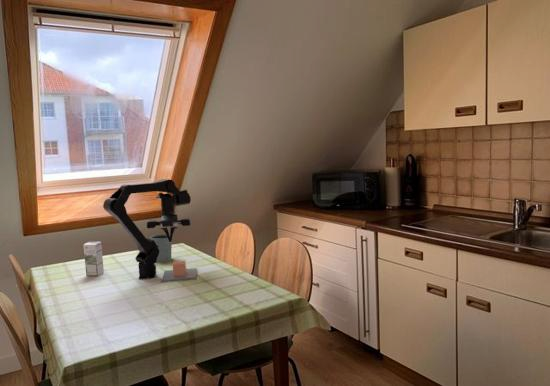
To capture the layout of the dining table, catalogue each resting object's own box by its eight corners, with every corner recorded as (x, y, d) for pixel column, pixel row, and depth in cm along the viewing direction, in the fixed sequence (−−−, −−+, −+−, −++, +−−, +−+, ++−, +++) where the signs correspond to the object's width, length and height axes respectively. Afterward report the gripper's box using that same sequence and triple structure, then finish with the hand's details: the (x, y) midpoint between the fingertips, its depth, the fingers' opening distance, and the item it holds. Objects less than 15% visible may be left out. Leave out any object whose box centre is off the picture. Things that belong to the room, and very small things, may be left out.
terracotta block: (173, 276, 189) (172, 264, 189) (174, 272, 194) (173, 261, 194) (185, 275, 190) (184, 263, 189) (186, 271, 195) (185, 260, 194)
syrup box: (104, 272, 202) (101, 241, 201) (98, 276, 197) (95, 244, 195) (92, 272, 203) (89, 241, 201) (85, 276, 197) (82, 244, 195)
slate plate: (161, 282, 184) (161, 280, 184) (164, 272, 198) (164, 270, 198) (196, 279, 186) (195, 277, 186) (196, 269, 200) (196, 268, 200)
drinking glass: (150, 259, 222) (148, 235, 220) (171, 256, 226) (169, 233, 225) (154, 264, 213) (152, 239, 211) (175, 261, 217) (173, 236, 215)
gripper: (143, 211, 189) (146, 247, 191) (188, 208, 192) (190, 244, 193) (147, 207, 200) (149, 241, 202) (189, 205, 202) (191, 238, 204)
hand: (170, 241), depth 200 cm, fingers closed
